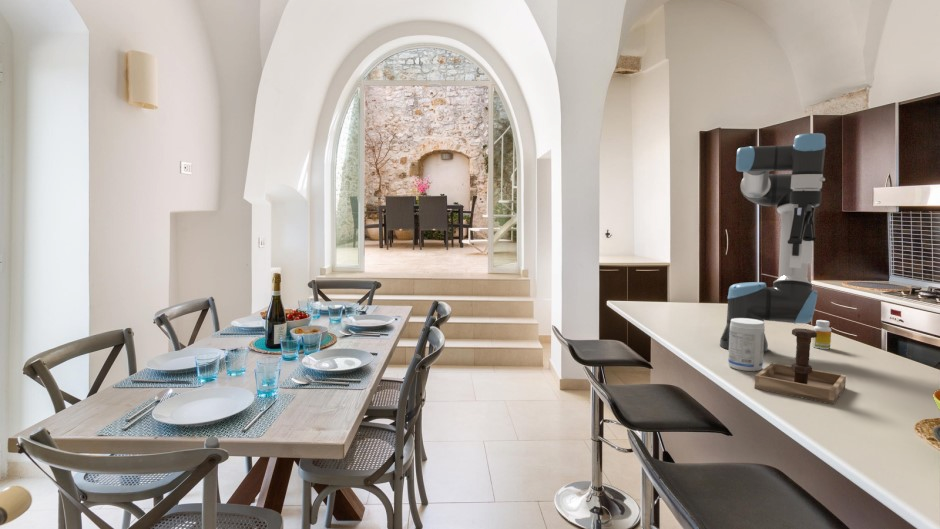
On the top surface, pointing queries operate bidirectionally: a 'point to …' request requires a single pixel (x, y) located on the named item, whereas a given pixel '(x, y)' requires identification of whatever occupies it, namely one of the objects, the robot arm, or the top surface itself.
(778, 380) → the tray
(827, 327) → the supplement bottle
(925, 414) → the top surface
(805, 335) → the bolt
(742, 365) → the supplement tub
